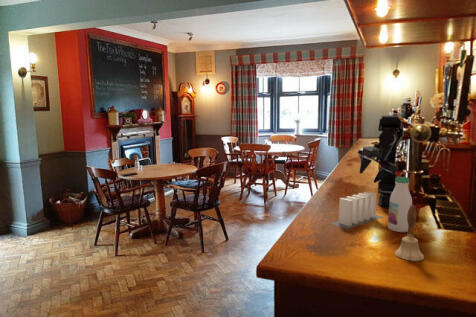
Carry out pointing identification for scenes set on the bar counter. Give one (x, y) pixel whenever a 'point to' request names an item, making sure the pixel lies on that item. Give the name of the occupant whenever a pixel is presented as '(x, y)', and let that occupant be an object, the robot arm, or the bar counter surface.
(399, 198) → the milk bottle
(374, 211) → the domino
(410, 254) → the hand bell
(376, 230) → the bar counter surface
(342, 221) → the domino
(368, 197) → the domino
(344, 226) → the runner mat
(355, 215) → the domino
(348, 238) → the bar counter surface
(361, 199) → the domino
